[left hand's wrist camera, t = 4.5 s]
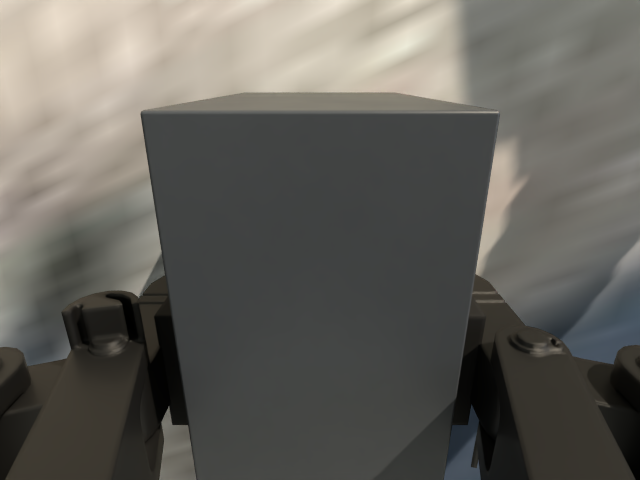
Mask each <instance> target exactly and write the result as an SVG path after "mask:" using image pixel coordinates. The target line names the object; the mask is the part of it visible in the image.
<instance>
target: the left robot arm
mask: <svg viewBox="0 0 640 480" xmlns="http://www.w3.org/2000/svg"><path fill="white" fill-rule="evenodd" d="M62 316H63V320H64V324H65V327H66V331H67V335H68V339H69V342H70V346H71V351H70V353H69V355H68V357H67V359H63V360H58V361H53V362H48V363H42V364H37V365H32V366H27V364H26V361H25V357H24V354H23V353H22V352H21V351H20V350H18V349H17V348H10V347H0V480H159V476H160V468H161V460H162V452H163V444H164V436H163V430H162V425H161V421H162V419H163V417H164V415H165V413H166V411H167V409H168V406H169V407H170V413H171V419H172V425H188V420H187V413H186V407H185V400H184V394H183V387H182V381H181V374H180V368H179V361H178V354H177V348H176V341H175V335H174V328H173V322H172V315H171V309H170V302H169V296H168V289H167V283H166V276H163V277H162V278H160V279H158V280H157V281H155V282H153V283H151V285H150V286H149V287H148V288H147V289H146V291H145V292H144V293H143V296H141V297H140V298H139V299H138V297H137V296H136V295H135V294H133V293H131V292H126V291H105V292H100V293H95V294H92V295H89V296H86V297H83V298H80V299H78V300H76V301H75V302H73V303H71V304H69V305H68V306H67V307H66V308H65V309H64V310H63V311H62ZM471 404H472V406H473V408H474V410H475V412H476V414H477V417H478V419H479V425H478V430H477V435H476V441H475V446H474V452H473V457H472V464H471V467H474V468H477V463H478V459H479V467H480V475H481V480H640V345H632V346H625V347H623V348H621V349H620V350H619V351H618V352H617V355H616V358H615V362H614V365H613V364H608V363H602V362H597V361H592V360H587V359H581V358H577V357H573V356H572V354H571V353H570V351H569V349H568V348H567V346H566V345H565V344H564V343H563V342H562V341H561V340H560V339H558V338H557V337H555V336H554V335H552V334H550V333H548V332H545V331H543V330H540V329H538V328H533V327H529V326H525V325H524V323H523V322H522V321H521V320H520V319H519V317H518V316H517V315H516V314H515V313H514V311H513V310H512V309H511V308H510V307H509V305H508V304H507V303H505V301H504V299H503V298H502V297H501V296H500V295H499V294H498V292H497V291H496V290H495V289H494V287H493V286H492V285H491V284H490V283H489V282H488V281H486V280H485V279H483V278H481V277H479V276H478V275H476V274H475V279H474V286H473V292H472V299H471V305H470V311H469V318H468V324H467V331H466V337H465V344H464V350H463V357H462V363H461V370H460V376H459V383H458V389H457V396H456V402H455V409H454V415H453V422H452V425H468V420H469V414H470V409H471Z"/></svg>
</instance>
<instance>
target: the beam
mask: <svg viewBox="0 0 640 480" xmlns="http://www.w3.org/2000/svg"><path fill="white" fill-rule="evenodd" d="M499 117H500V112H499V111H497V110H492V109H486V108H481V107H475V106H469V105H463V104H457V103H452V102H446V101H440V100H434V99H429V98H423V97H417V96H411V95H405V94H400V93H240V94H235V95H229V96H223V97H217V98H212V99H206V100H200V101H194V102H189V103H183V104H177V105H171V106H166V107H160V108H154V109H148V110H143V111H141V120H142V126H143V133H144V139H145V146H146V153H147V159H148V166H149V172H150V179H151V185H152V192H153V198H154V205H155V211H156V218H157V224H158V231H159V237H160V244H161V250H162V257H163V263H164V270H165V276H166V283H167V289H168V296H169V302H170V309H171V315H172V322H173V328H174V335H175V341H176V348H177V354H178V361H179V368H180V374H181V381H182V387H183V394H184V400H185V407H186V413H187V420H188V426H189V433H190V439H191V446H192V452H193V459H194V465H195V472H196V478H197V480H444V474H445V467H446V461H447V454H448V448H449V441H450V435H451V428H452V422H453V415H454V409H455V402H456V396H457V389H458V383H459V376H460V370H461V363H462V357H463V350H464V344H465V337H466V331H467V324H468V318H469V311H470V305H471V299H472V292H473V286H474V279H475V273H476V266H477V260H478V253H479V247H480V240H481V234H482V227H483V221H484V214H485V208H486V201H487V195H488V188H489V182H490V175H491V169H492V162H493V156H494V149H495V143H496V136H497V130H498V123H499Z"/></svg>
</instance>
